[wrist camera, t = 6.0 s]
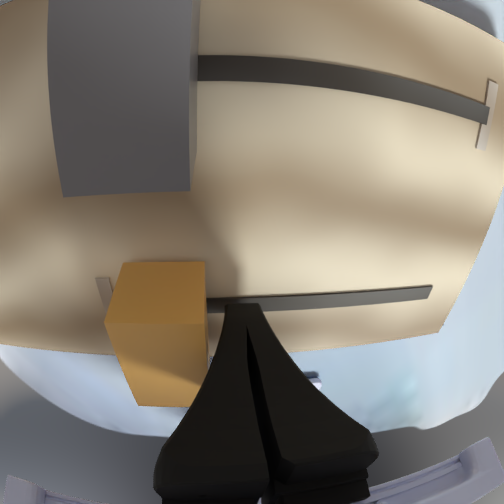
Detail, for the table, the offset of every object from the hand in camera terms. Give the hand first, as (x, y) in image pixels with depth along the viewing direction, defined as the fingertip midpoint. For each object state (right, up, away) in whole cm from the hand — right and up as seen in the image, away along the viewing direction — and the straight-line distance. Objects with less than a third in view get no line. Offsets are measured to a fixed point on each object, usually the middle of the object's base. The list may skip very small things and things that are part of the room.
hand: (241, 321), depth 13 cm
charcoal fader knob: (-3, +8, -5) cm, 10 cm away
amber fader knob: (-3, 0, 0) cm, 3 cm away
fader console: (-1, +5, 0) cm, 6 cm away
